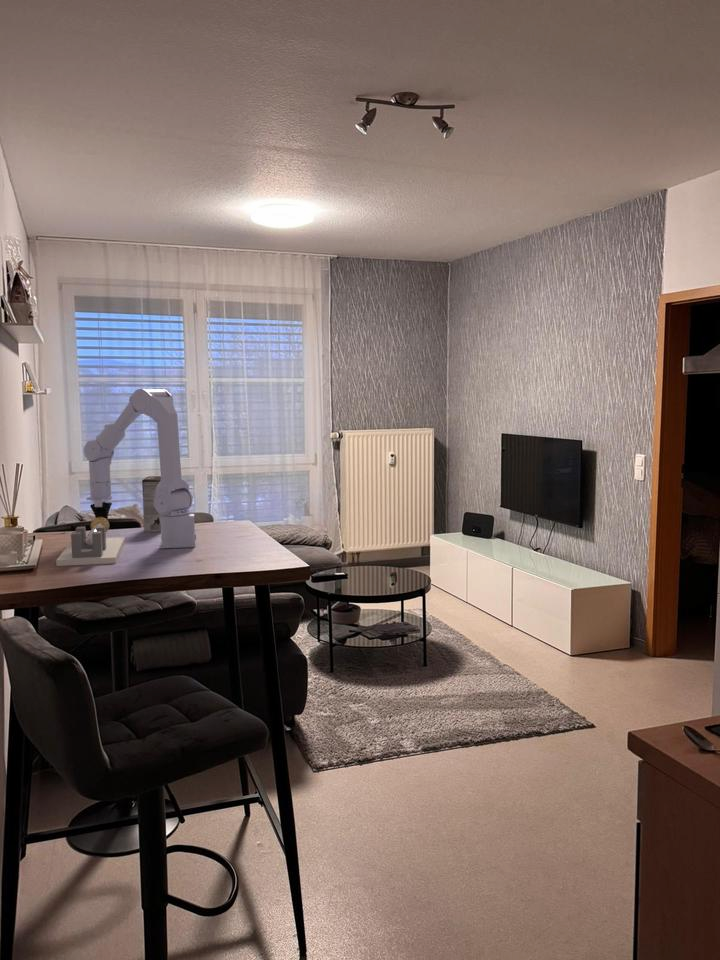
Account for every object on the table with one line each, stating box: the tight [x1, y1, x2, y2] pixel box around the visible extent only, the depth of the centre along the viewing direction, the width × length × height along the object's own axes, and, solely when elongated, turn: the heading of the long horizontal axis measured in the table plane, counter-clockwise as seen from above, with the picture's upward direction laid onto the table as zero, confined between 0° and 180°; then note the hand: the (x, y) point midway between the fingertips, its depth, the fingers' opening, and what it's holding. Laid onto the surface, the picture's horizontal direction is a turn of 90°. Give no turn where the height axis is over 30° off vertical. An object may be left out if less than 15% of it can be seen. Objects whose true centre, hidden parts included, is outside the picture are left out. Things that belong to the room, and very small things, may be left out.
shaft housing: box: [55, 526, 126, 567], centre depth 205 cm, size 14×27×8 cm, turn 12°
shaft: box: [85, 517, 110, 545], centre depth 211 cm, size 5×23×5 cm, turn 12°
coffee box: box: [141, 475, 161, 533], centre depth 240 cm, size 9×6×16 cm
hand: (102, 527), depth 227 cm, fingers closed
